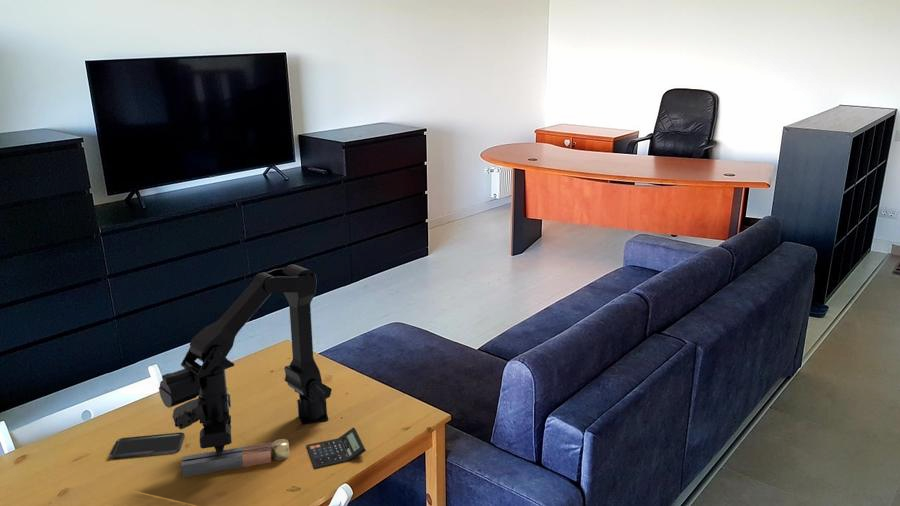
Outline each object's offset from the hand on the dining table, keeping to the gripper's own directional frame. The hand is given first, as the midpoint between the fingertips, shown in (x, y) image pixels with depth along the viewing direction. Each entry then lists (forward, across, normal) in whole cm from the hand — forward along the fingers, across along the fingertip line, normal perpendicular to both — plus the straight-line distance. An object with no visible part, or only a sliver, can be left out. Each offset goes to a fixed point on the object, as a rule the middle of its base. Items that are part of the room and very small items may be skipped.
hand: (219, 452), depth 149 cm
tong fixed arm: (+2, +4, +2) cm, 5 cm away
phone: (+2, -10, -16) cm, 19 cm away
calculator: (+2, +5, +25) cm, 26 cm away
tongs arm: (+2, +3, +4) cm, 5 cm away
